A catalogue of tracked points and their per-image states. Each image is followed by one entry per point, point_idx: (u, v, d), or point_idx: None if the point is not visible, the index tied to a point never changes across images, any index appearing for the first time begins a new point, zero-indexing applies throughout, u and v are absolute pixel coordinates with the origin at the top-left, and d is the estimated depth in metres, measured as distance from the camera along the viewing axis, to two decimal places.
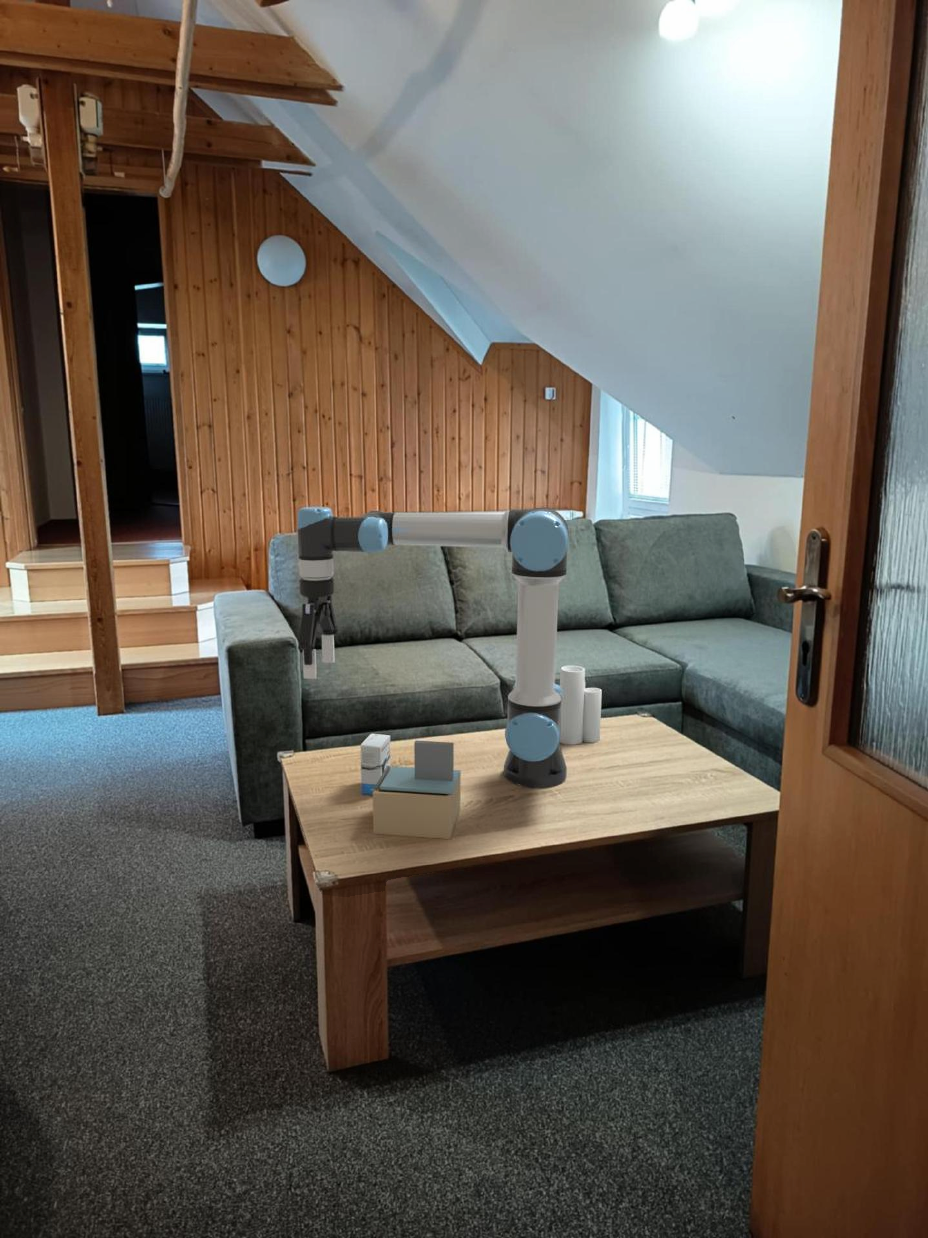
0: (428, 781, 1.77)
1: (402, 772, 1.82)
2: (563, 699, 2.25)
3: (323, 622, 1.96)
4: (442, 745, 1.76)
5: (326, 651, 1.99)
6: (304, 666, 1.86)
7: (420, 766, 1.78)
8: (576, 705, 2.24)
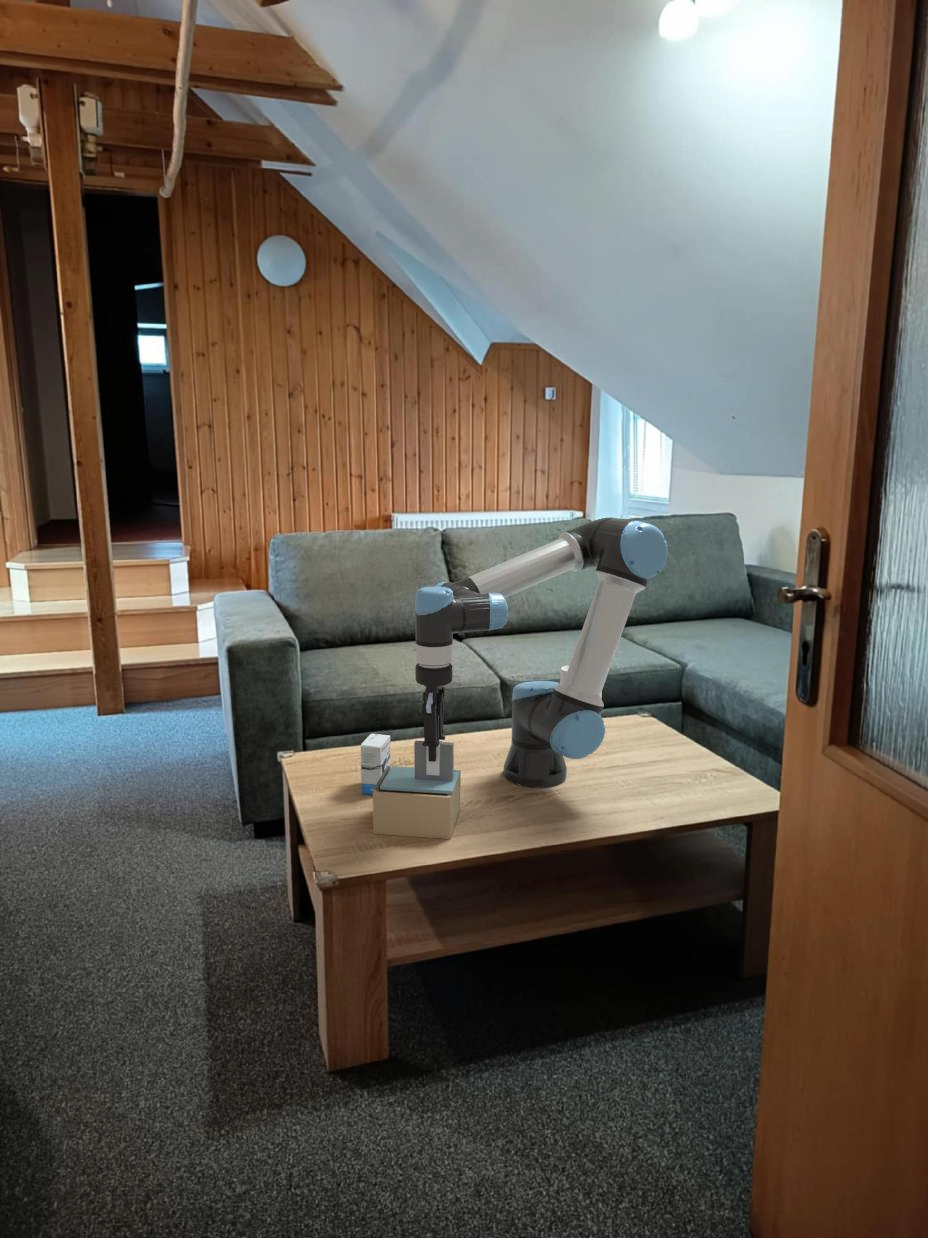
0: (428, 781, 1.77)
1: (402, 772, 1.82)
2: None
3: None
4: (442, 745, 1.76)
5: None
6: (427, 762, 1.76)
7: (420, 766, 1.78)
8: None
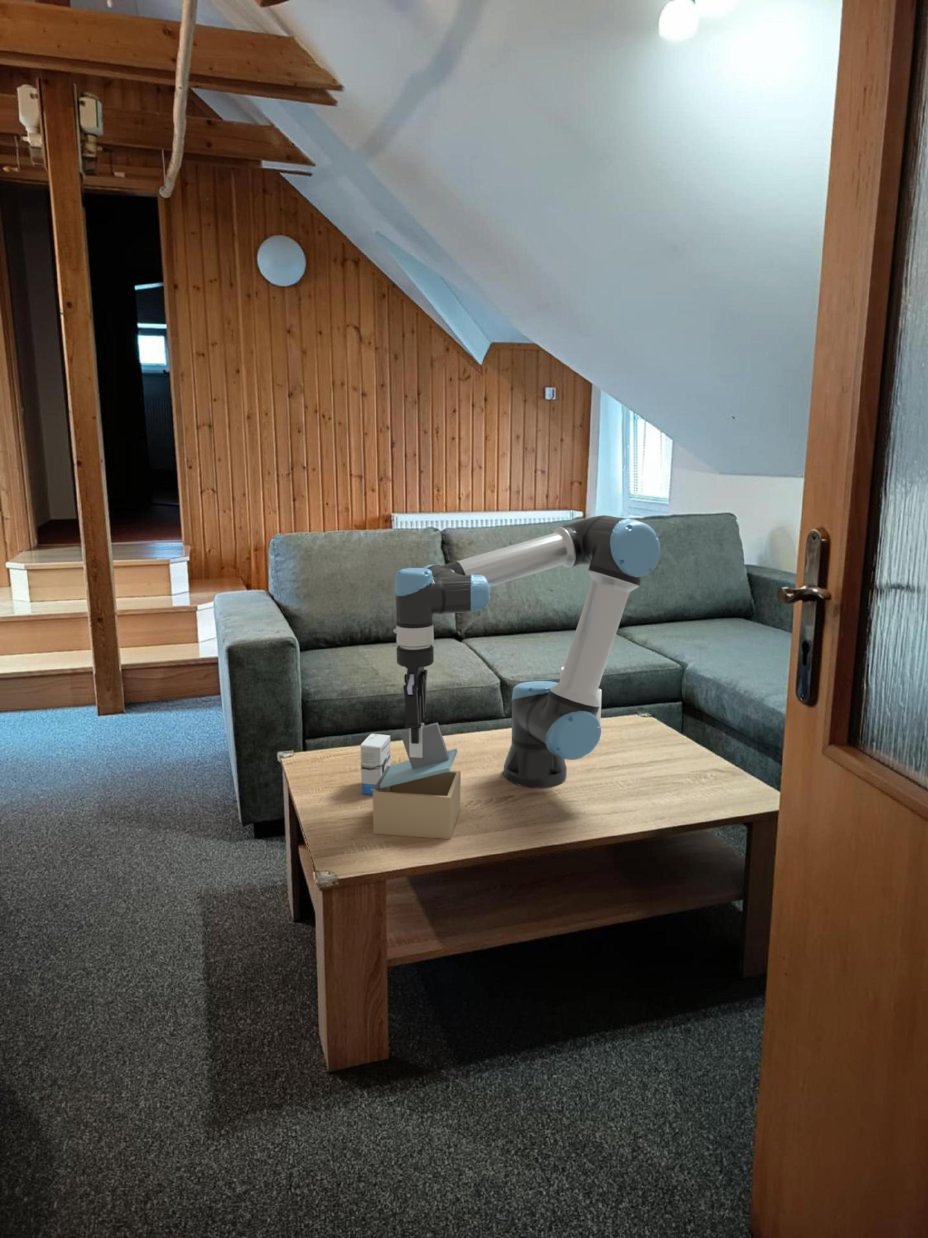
0: (425, 767, 1.77)
1: (401, 767, 1.82)
2: None
3: None
4: (427, 727, 1.76)
5: None
6: (410, 744, 1.76)
7: None
8: None
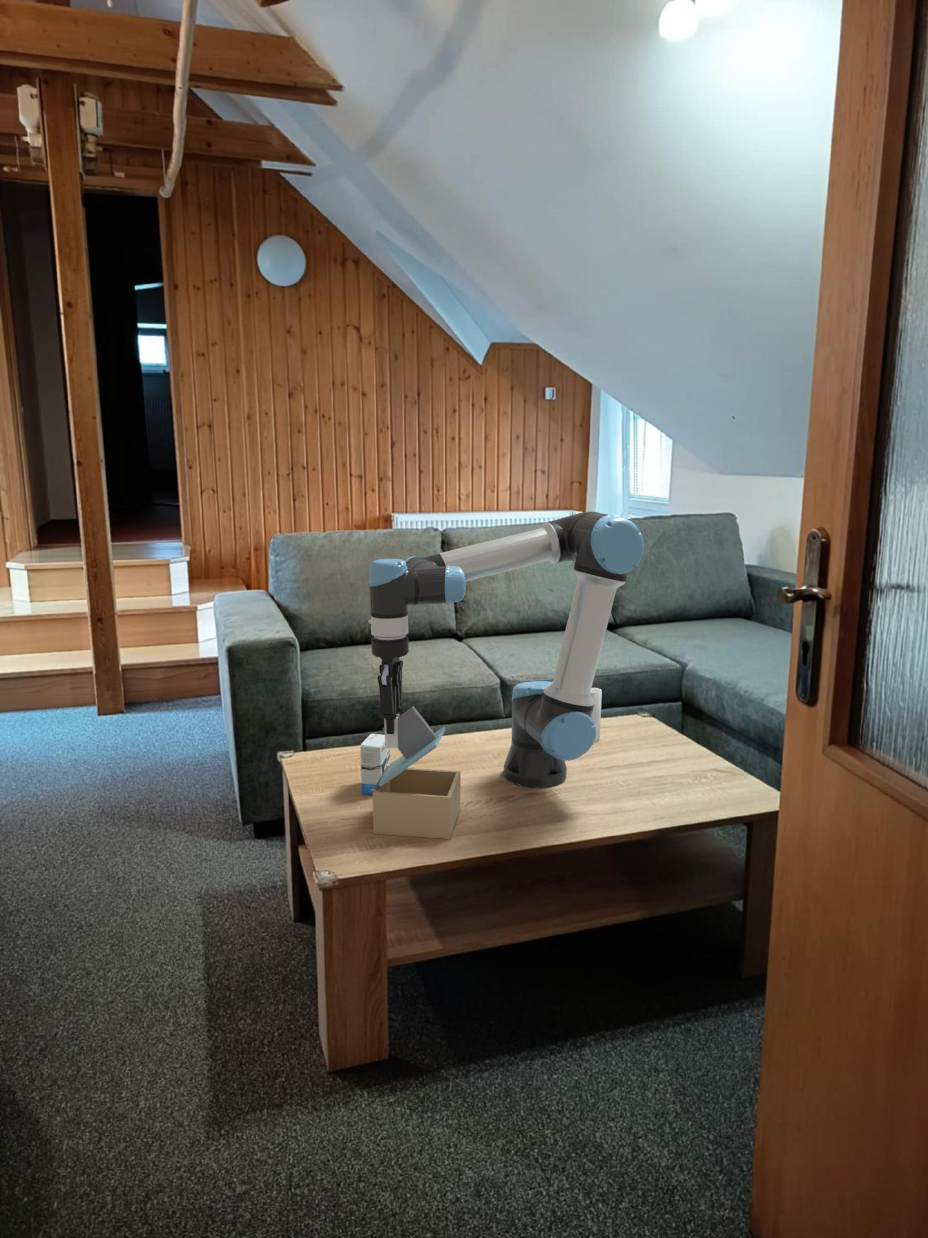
0: (416, 752, 1.76)
1: (397, 762, 1.81)
2: None
3: None
4: (405, 714, 1.76)
5: None
6: (386, 735, 1.76)
7: (402, 745, 1.77)
8: None
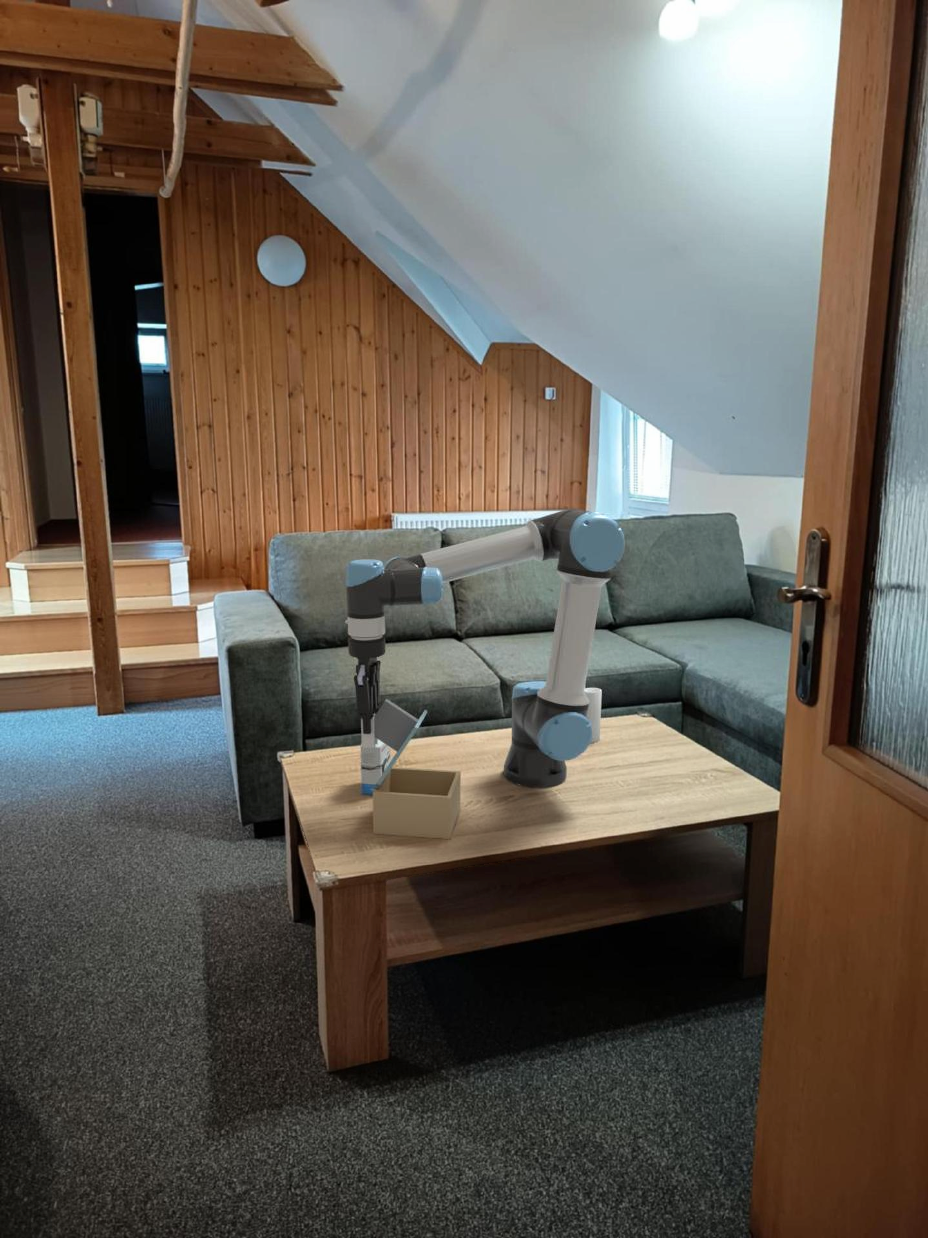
0: (404, 741, 1.76)
1: None
2: None
3: None
4: (380, 708, 1.76)
5: None
6: (362, 735, 1.77)
7: (389, 739, 1.77)
8: None
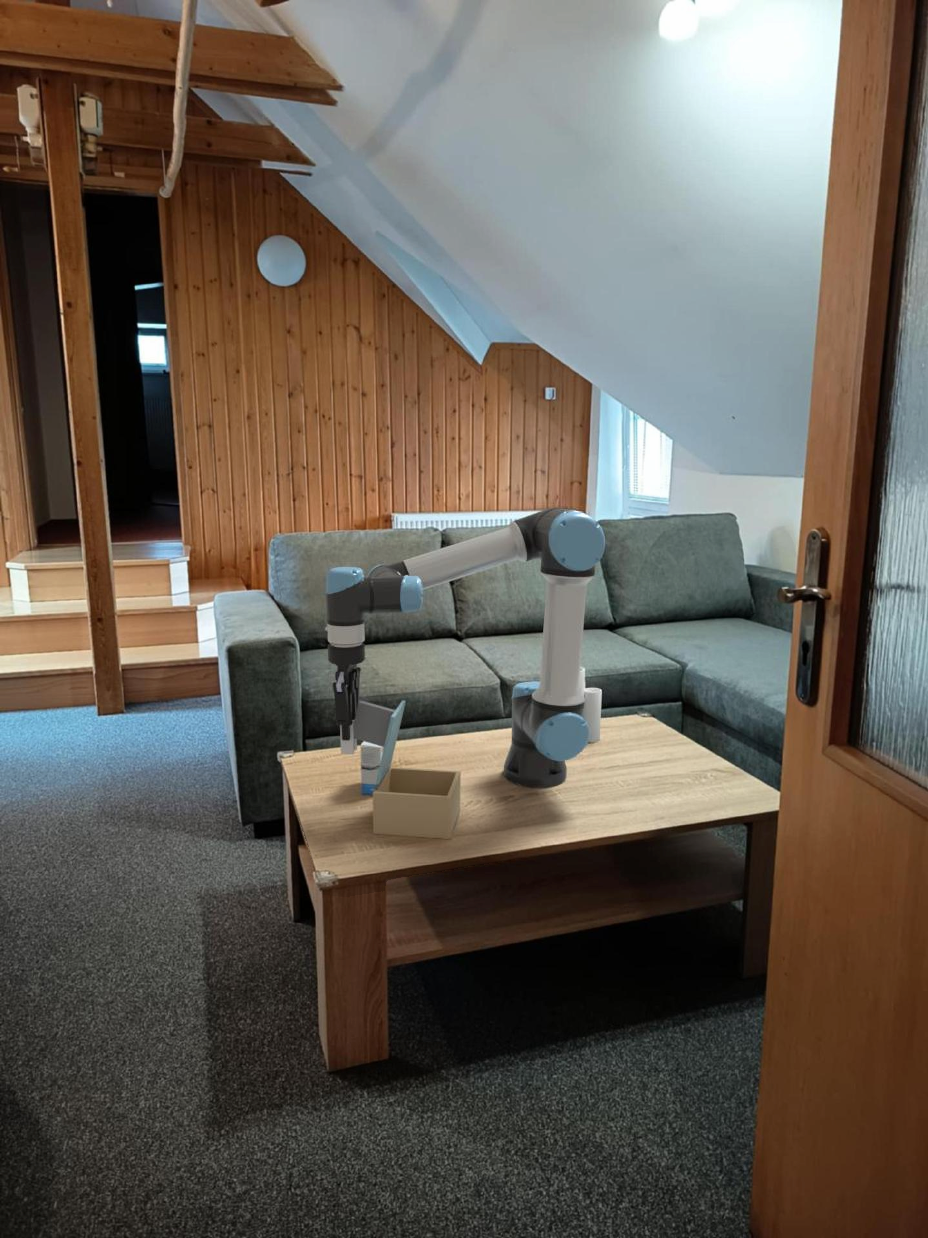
0: None
1: None
2: None
3: None
4: (357, 711, 1.77)
5: None
6: (341, 741, 1.78)
7: (375, 738, 1.78)
8: None
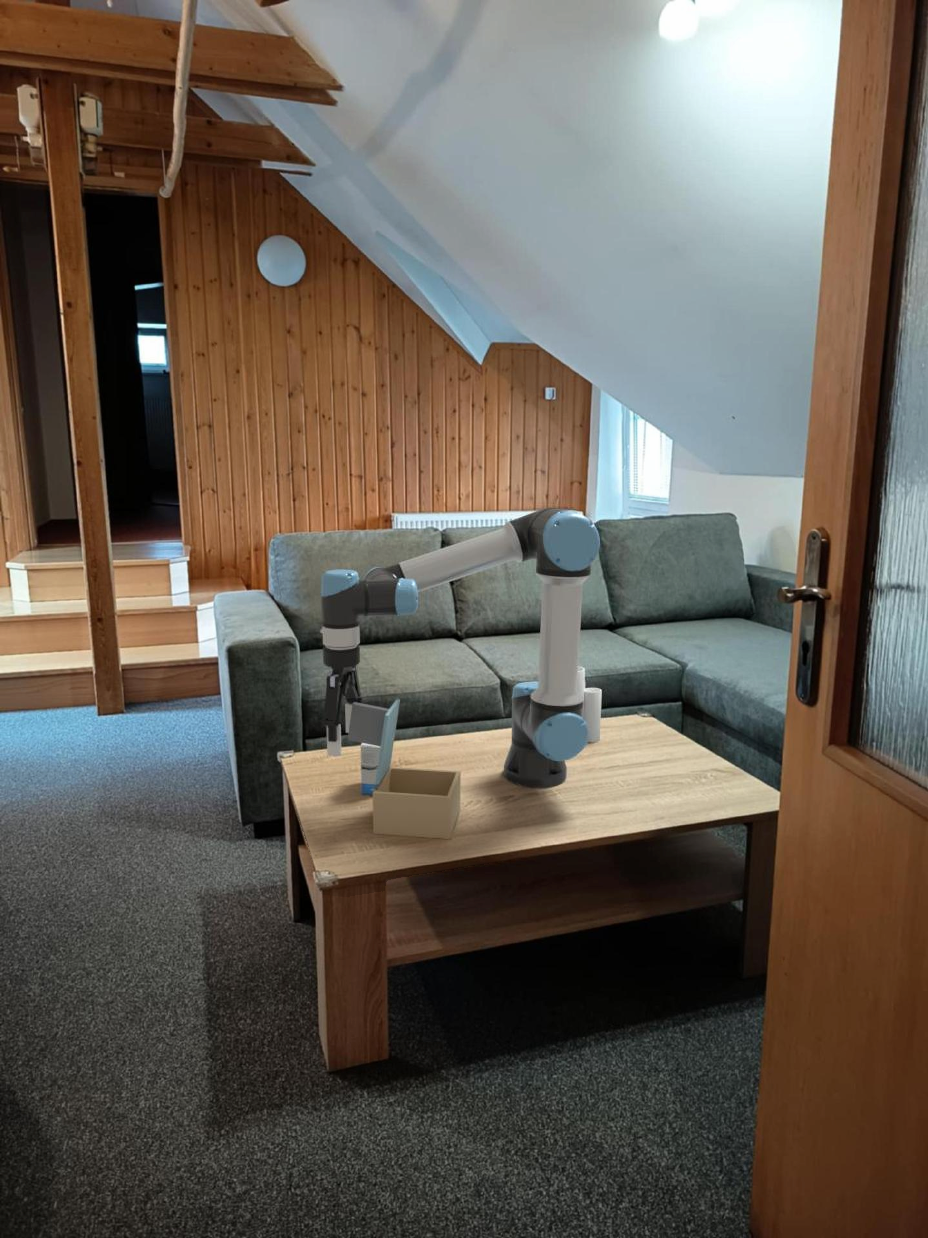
0: None
1: None
2: None
3: (348, 691, 1.82)
4: (351, 713, 1.77)
5: (349, 721, 1.85)
6: (328, 742, 1.72)
7: (372, 739, 1.78)
8: None
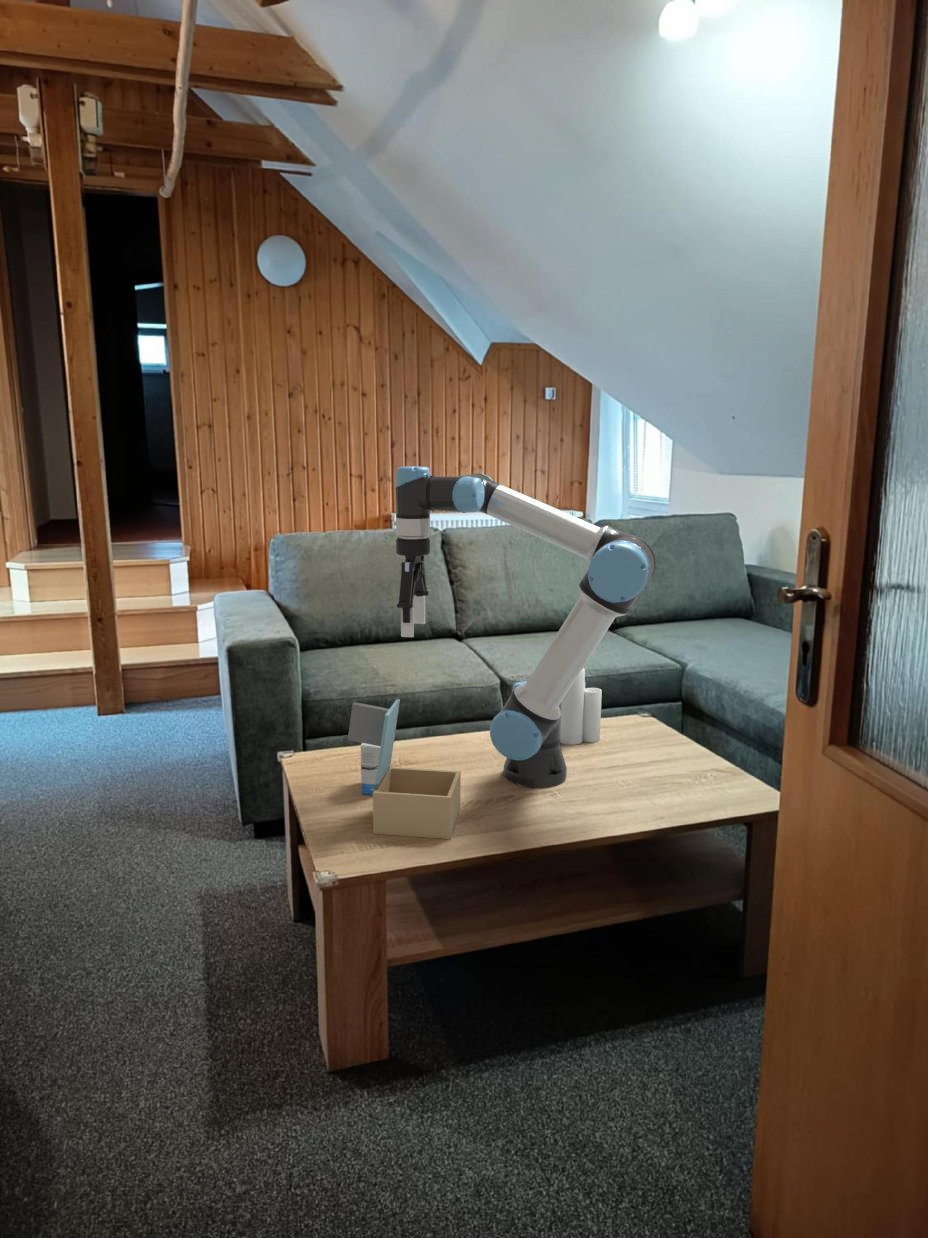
0: None
1: None
2: (563, 699, 2.25)
3: (416, 582, 1.96)
4: (351, 713, 1.77)
5: (417, 612, 2.00)
6: (402, 624, 1.87)
7: (372, 739, 1.78)
8: (576, 705, 2.24)
